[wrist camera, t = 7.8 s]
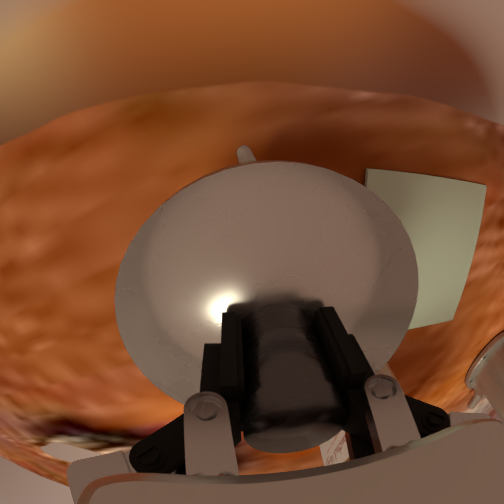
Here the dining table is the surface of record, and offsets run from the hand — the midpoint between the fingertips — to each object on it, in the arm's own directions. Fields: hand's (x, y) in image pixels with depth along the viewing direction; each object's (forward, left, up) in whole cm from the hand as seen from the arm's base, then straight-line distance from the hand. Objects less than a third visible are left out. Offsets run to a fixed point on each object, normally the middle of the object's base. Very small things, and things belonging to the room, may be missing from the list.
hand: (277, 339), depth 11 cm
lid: (0, 0, -2) cm, 2 cm away
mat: (-2, -16, -11) cm, 19 cm away
